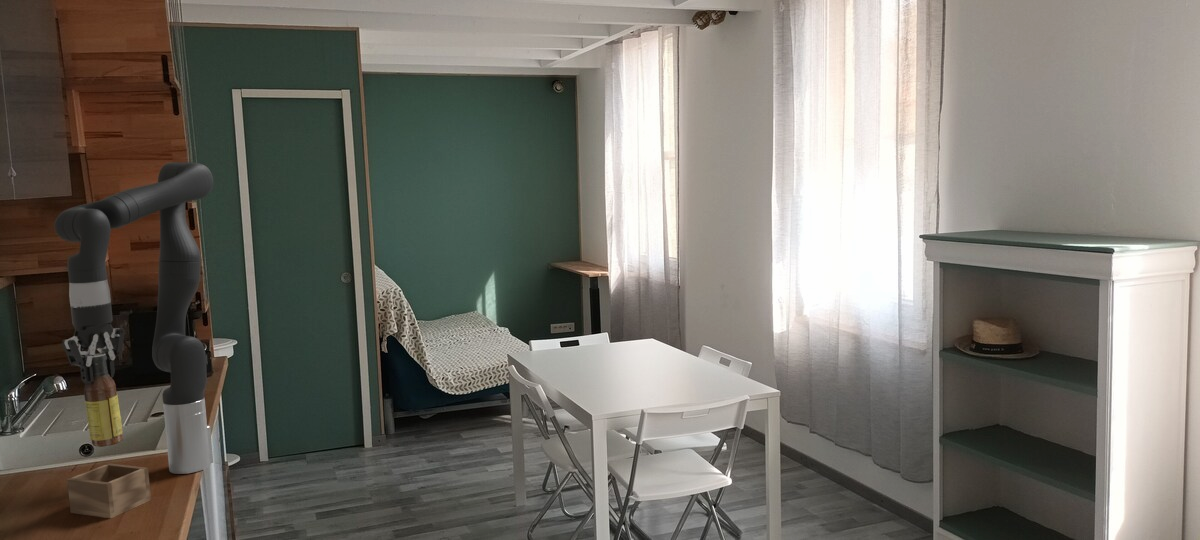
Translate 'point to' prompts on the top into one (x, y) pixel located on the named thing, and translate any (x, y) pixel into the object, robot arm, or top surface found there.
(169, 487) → the top surface
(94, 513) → the box
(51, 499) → the top surface
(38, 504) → the top surface
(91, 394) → the sauce bottle
